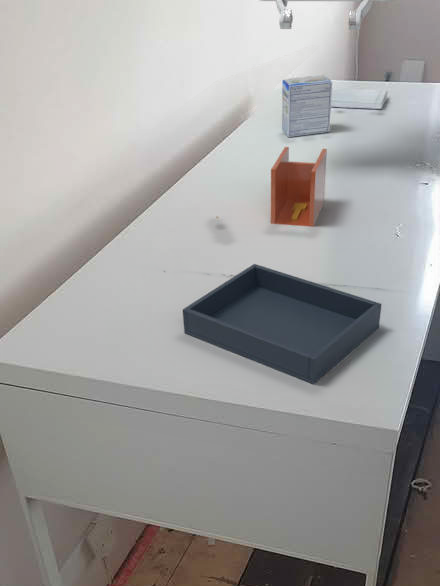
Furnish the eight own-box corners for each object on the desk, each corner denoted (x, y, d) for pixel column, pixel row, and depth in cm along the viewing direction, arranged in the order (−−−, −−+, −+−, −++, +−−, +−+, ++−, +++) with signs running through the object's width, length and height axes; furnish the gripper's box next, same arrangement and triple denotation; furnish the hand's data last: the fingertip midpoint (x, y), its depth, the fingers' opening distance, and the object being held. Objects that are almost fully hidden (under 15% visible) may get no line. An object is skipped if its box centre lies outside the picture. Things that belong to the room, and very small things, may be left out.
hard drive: (318, 98, 141) (382, 100, 138) (326, 87, 147) (387, 88, 143) (317, 107, 142) (381, 110, 139) (326, 95, 148) (387, 98, 144)
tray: (379, 327, 79) (381, 303, 77) (313, 384, 72) (314, 359, 70) (254, 286, 88) (254, 263, 86) (184, 333, 80) (182, 309, 78)
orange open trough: (283, 202, 107) (284, 146, 102) (323, 205, 106) (326, 148, 100) (270, 227, 100) (270, 169, 95) (313, 230, 99) (315, 171, 94)
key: (295, 205, 104) (295, 202, 104) (307, 206, 104) (307, 203, 104) (287, 219, 101) (287, 217, 100) (300, 220, 100) (300, 218, 100)
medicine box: (322, 125, 133) (324, 74, 127) (330, 133, 130) (332, 80, 124) (281, 130, 132) (281, 78, 126) (288, 138, 129) (289, 85, 123)
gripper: (256, -89, 97) (240, 10, 97) (410, -93, 93) (395, 11, 92) (263, -53, 103) (248, 40, 103) (408, -55, 99) (393, 42, 98)
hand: (319, 26), depth 97 cm, fingers open, 8 cm apart
